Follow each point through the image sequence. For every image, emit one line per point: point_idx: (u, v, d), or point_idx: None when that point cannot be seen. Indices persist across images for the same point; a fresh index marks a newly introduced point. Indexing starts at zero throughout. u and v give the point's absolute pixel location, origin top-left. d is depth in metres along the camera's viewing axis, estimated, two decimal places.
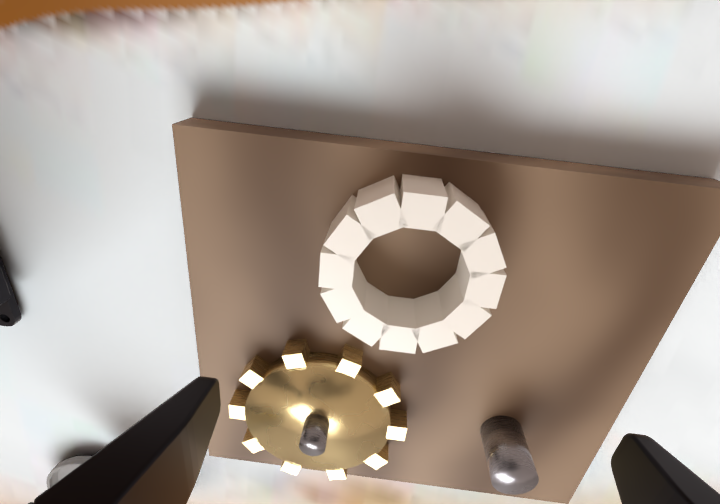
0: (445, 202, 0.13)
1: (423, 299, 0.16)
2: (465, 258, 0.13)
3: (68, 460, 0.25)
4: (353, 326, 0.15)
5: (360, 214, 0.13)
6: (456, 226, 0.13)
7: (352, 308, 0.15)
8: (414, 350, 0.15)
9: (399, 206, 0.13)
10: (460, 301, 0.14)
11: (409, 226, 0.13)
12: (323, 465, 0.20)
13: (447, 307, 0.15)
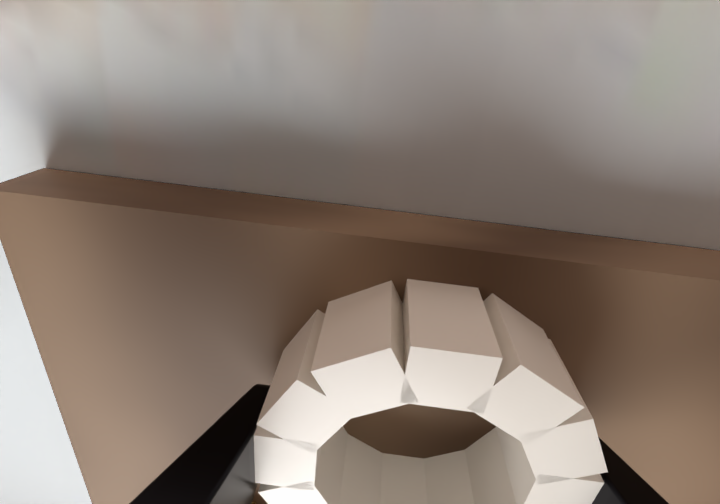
0: (497, 367, 0.06)
1: (441, 466, 0.10)
2: (529, 455, 0.07)
3: None
4: None
5: (325, 380, 0.07)
6: (516, 406, 0.06)
7: None
8: None
9: (402, 368, 0.06)
10: None
11: (421, 402, 0.07)
12: None
13: None
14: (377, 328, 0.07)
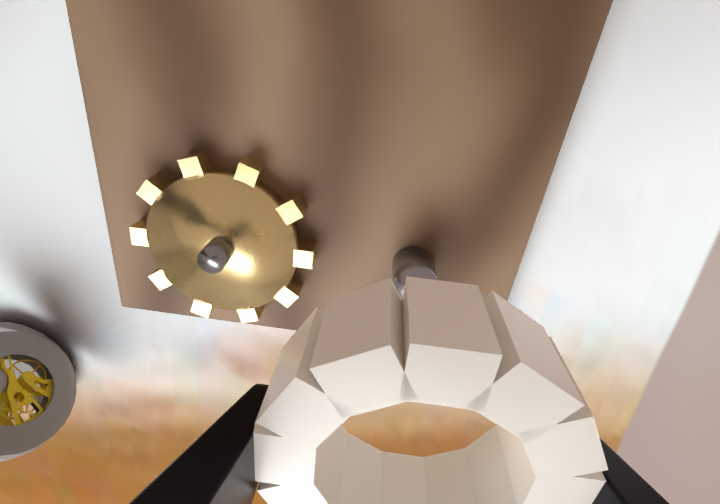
0: (496, 364, 0.06)
1: (441, 465, 0.10)
2: (529, 453, 0.07)
3: None
4: None
5: (323, 378, 0.07)
6: (516, 403, 0.06)
7: None
8: None
9: (401, 365, 0.06)
10: None
11: (421, 399, 0.07)
12: (233, 304, 0.20)
13: None
14: (376, 325, 0.07)
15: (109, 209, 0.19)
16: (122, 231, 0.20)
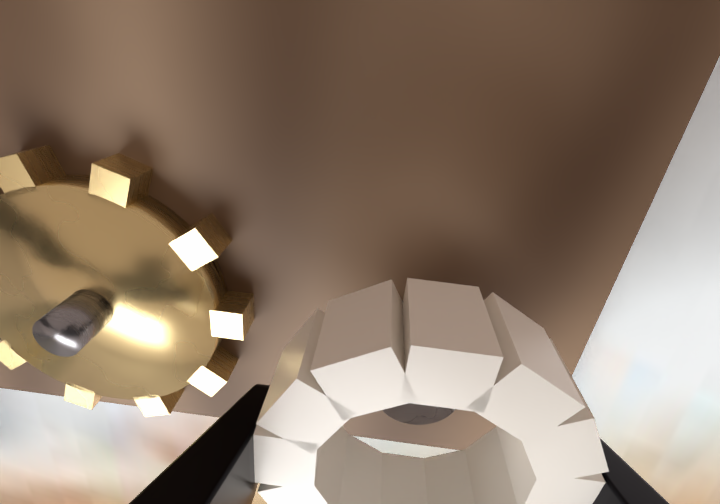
0: (497, 366, 0.06)
1: (441, 466, 0.10)
2: (529, 454, 0.07)
3: None
4: None
5: (324, 379, 0.07)
6: (516, 405, 0.06)
7: None
8: None
9: (402, 367, 0.06)
10: None
11: (422, 401, 0.07)
12: (127, 390, 0.13)
13: None
14: (377, 327, 0.07)
15: None
16: None
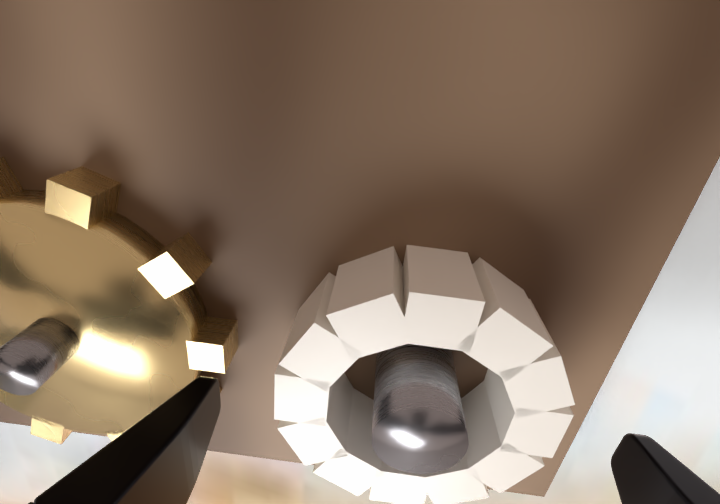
0: (480, 309, 0.07)
1: None
2: (508, 390, 0.08)
3: None
4: (330, 470, 0.10)
5: (337, 322, 0.08)
6: (496, 345, 0.08)
7: (327, 448, 0.10)
8: None
9: (402, 312, 0.08)
10: (496, 445, 0.09)
11: (418, 342, 0.08)
12: (99, 424, 0.11)
13: (473, 444, 0.10)
14: (381, 281, 0.08)
15: None
16: None
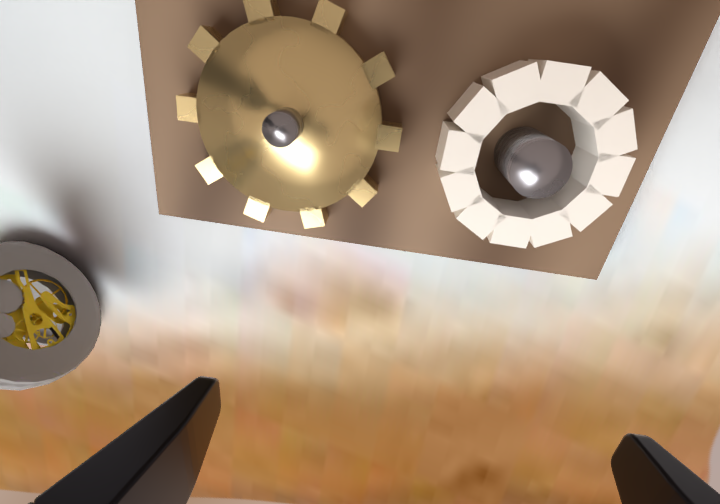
0: (588, 72, 0.13)
1: (530, 199, 0.16)
2: (597, 138, 0.13)
3: None
4: (468, 216, 0.15)
5: (498, 86, 0.13)
6: (594, 100, 0.13)
7: (470, 195, 0.15)
8: (526, 244, 0.15)
9: (539, 77, 0.13)
10: (582, 189, 0.14)
11: (545, 100, 0.13)
12: (296, 202, 0.16)
13: (564, 199, 0.15)
14: (523, 64, 0.13)
15: (150, 79, 0.16)
16: (164, 111, 0.16)
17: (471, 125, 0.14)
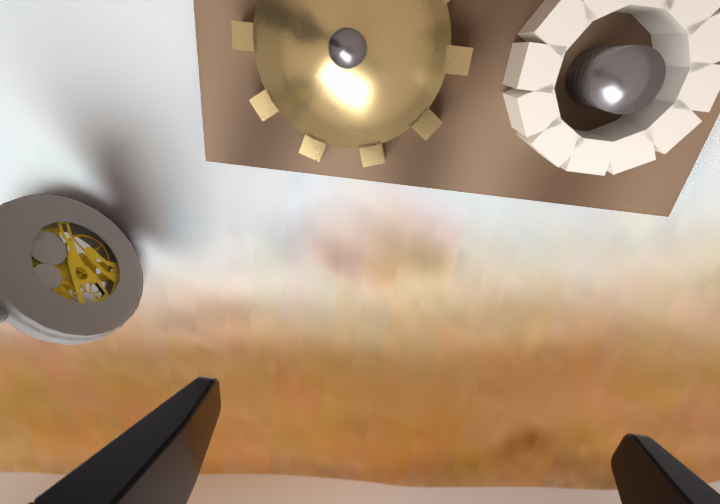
0: None
1: (603, 128, 0.15)
2: (690, 44, 0.12)
3: None
4: (544, 141, 0.14)
5: None
6: (690, 1, 0.12)
7: (548, 116, 0.14)
8: (605, 171, 0.14)
9: None
10: (670, 105, 0.13)
11: (637, 3, 0.12)
12: (355, 138, 0.16)
13: (646, 119, 0.14)
14: None
15: (200, 9, 0.15)
16: (215, 44, 0.15)
17: (554, 35, 0.13)
